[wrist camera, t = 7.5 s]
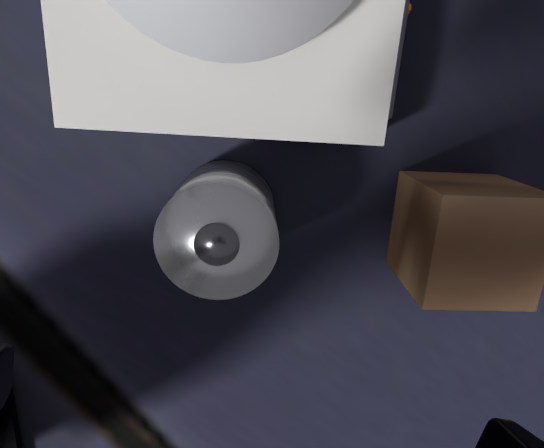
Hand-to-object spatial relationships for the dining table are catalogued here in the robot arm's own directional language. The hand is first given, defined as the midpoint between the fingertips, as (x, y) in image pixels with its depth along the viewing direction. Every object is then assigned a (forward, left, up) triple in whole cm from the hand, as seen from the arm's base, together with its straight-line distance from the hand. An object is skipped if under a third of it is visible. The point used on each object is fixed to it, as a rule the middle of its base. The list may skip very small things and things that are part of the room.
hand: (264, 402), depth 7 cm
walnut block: (0, -9, -12) cm, 14 cm away
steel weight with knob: (0, +2, -12) cm, 12 cm away
